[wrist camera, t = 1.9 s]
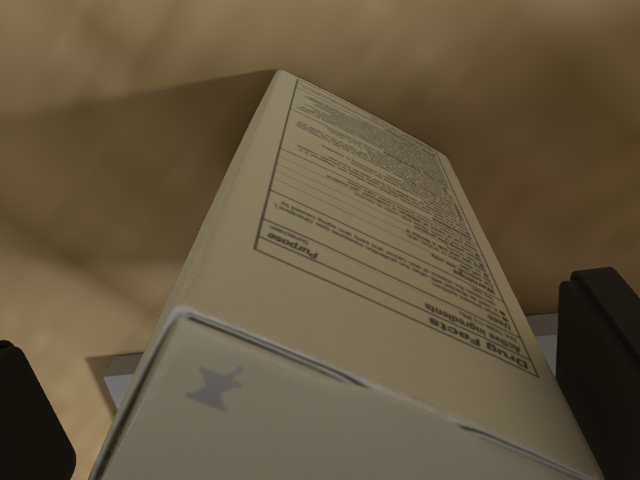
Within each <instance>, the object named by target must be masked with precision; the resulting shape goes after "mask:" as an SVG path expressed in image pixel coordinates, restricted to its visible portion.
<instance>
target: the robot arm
mask: <svg viewBox="0 0 640 480" xmlns="http://www.w3.org/2000/svg"><path fill="white" fill-rule="evenodd" d="M555 379H556V381H557V383H558V385H559V387H560V389H561V391H562V393H563V395H564V397H565V399H566V401H567V403H568V405H569V407H570V409H571V411H572V413H573V415H574V417H575V419H576V421H577V423H578V425H579V427H580V429H581V431H582V433H583V435H584V437H585V439H586V441H587V443H588V445H589V447H590V449H591V451H592V453H593V455H594V457H595V459H596V461H597V463H598V465H599V467H600V469H601V471H602V474H603V476H604V478H605V480H640V298H639V297H638V296H637V295H636V294H635V292H634V291H633V290H632V289H631V288H630V287H629V285H628V284H627V283H626V282H625V281H624V280H623V278H622V277H621V276H620V275H619V274H618V272H617V271H616V270H615V269H613V268H612V267H604V268H596V269H588V270H580V271H574V272H573V273H572V274H571V277H570V281H563V282H561V284H560V288H559V305H558V328H557V351H556V374H555ZM75 466H76V454H75V451H74V449H73V447H72V445H71V443H70V441H69V439H68V437H67V435H66V433H65V431H64V429H63V427H62V425H61V424H60V422H59V420H58V418H57V416H56V414H55V412H54V410H53V408H52V406H51V404H50V402H49V400H48V399H47V397H46V395H45V393H44V391H43V389H42V387H41V385H40V383H39V381H38V379H37V377H36V375H35V374H34V372H33V370H32V368H31V366H30V364H29V362H28V360H27V358H26V356H25V354H24V353H23V351H22V350H21V349H20V348H18V347H15V346H14V345H13V344H12V343H11V342H9V341H6V340H0V480H70V479H71V477H72V475H73V473H74V470H75Z"/></svg>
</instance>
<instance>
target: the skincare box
mask: <svg viewBox="0 0 640 480" xmlns="http://www.w3.org/2000/svg"><path fill="white" fill-rule="evenodd" d="M88 480H605V478H604V476H603V474H602V471H601V469H600V467H599V465H598V463H597V461H596V459H595V457H594V455H593V453H592V451H591V449H590V447H589V445H588V443H587V441H586V439H585V437H584V435H583V433H582V431H581V429H580V427H579V425H578V423H577V421H576V419H575V417H574V415H573V413H572V411H571V409H570V407H569V405H568V403H567V401H566V399H565V397H564V395H563V393H562V391H561V389H560V387H559V385H558V383H557V381H556V379H555V377H554V375H553V373H552V371H551V368H550V366H549V364H548V362H547V360H546V358H545V356H544V354H543V352H542V350H541V348H540V346H539V344H538V342H537V340H536V338H535V336H534V334H533V332H532V330H531V328H530V326H529V324H528V322H527V320H526V317H525V315H524V313H523V311H522V309H521V307H520V305H519V303H518V301H517V299H516V297H515V295H514V293H513V291H512V289H511V287H510V285H509V283H508V281H507V279H506V277H505V274H504V272H503V270H502V268H501V266H500V264H499V262H498V260H497V258H496V256H495V254H494V252H493V250H492V248H491V246H490V244H489V242H488V240H487V238H486V236H485V234H484V232H483V230H482V228H481V226H480V223H479V221H478V219H477V217H476V215H475V213H474V211H473V209H472V207H471V205H470V203H469V201H468V199H467V197H466V195H465V193H464V191H463V189H462V187H461V184H460V182H459V180H458V178H457V176H456V174H455V173H454V171H453V168H452V166H451V164H450V162H449V160H448V158H447V157H446V156H445V155H444V154H442V153H440V152H439V151H437V150H435V149H433V148H432V147H430V146H428V145H427V144H425V143H423V142H421V141H420V140H418V139H416V138H414V137H412V136H411V135H409V134H407V133H405V132H403V131H402V130H400V129H398V128H396V127H394V126H393V125H391V124H389V123H387V122H385V121H383V120H382V119H380V118H378V117H376V116H374V115H372V114H370V113H368V112H366V111H364V110H362V109H360V108H359V107H357V106H355V105H353V104H351V103H349V102H347V101H345V100H343V99H341V98H339V97H337V96H335V95H333V94H331V93H329V92H327V91H325V90H323V89H321V88H319V87H317V86H315V85H313V84H311V83H309V82H307V81H305V80H303V79H301V78H298V77H296V76H294V75H292V74H290V73H288V72H286V71H284V70H278V71H277V72H276V73H275V75H274V77H273V79H272V81H271V83H270V85H269V87H268V89H267V90H266V92H265V94H264V96H263V98H262V100H261V102H260V104H259V106H258V108H257V110H256V112H255V114H254V116H253V118H252V120H251V122H250V124H249V126H248V128H247V130H246V132H245V134H244V137H243V139H242V141H241V143H240V145H239V147H238V149H237V151H236V153H235V155H234V157H233V159H232V161H231V163H230V166H229V168H228V170H227V172H226V174H225V176H224V179H223V181H222V183H221V185H220V188H219V190H218V192H217V194H216V196H215V198H214V200H213V203H212V205H211V207H210V209H209V211H208V213H207V215H206V217H205V219H204V222H203V224H202V226H201V228H200V231H199V233H198V235H197V237H196V239H195V242H194V244H193V246H192V248H191V250H190V252H189V255H188V257H187V259H186V261H185V263H184V265H183V268H182V270H181V272H180V274H179V276H178V278H177V281H176V283H175V285H174V287H173V289H172V291H171V294H170V296H169V298H168V300H167V302H166V304H165V307H164V309H163V311H162V313H161V316H160V318H159V320H158V322H157V324H156V327H155V329H154V331H153V333H152V335H151V338H150V340H149V342H148V344H147V347H146V349H145V351H144V353H143V355H142V358H141V360H140V362H139V364H138V367H137V369H136V371H135V373H134V375H133V378H132V380H131V382H130V384H129V387H128V389H127V391H126V393H125V395H124V398H123V400H122V402H121V404H120V407H119V409H118V411H117V413H116V416H115V418H114V420H113V422H112V425H111V427H110V429H109V431H108V434H107V436H106V438H105V440H104V443H103V445H102V447H101V450H100V452H99V454H98V457H97V459H96V461H95V464H94V466H93V468H92V471H91V473H90V476H89V478H88Z"/></svg>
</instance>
